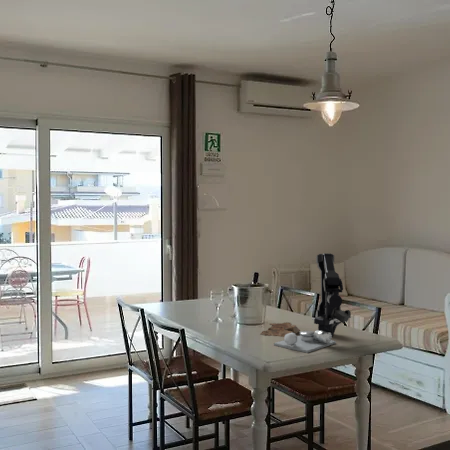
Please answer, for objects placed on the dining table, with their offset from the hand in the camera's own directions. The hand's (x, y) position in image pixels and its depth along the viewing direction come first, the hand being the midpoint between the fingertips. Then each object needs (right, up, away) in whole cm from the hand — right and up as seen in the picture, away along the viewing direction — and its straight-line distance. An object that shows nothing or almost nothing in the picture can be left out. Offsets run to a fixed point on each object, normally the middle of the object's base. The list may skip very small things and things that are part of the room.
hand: (331, 337), depth 253 cm
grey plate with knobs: (-12, -3, -1) cm, 12 cm away
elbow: (-7, -1, +1) cm, 8 cm away
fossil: (-22, -3, +22) cm, 32 cm away
